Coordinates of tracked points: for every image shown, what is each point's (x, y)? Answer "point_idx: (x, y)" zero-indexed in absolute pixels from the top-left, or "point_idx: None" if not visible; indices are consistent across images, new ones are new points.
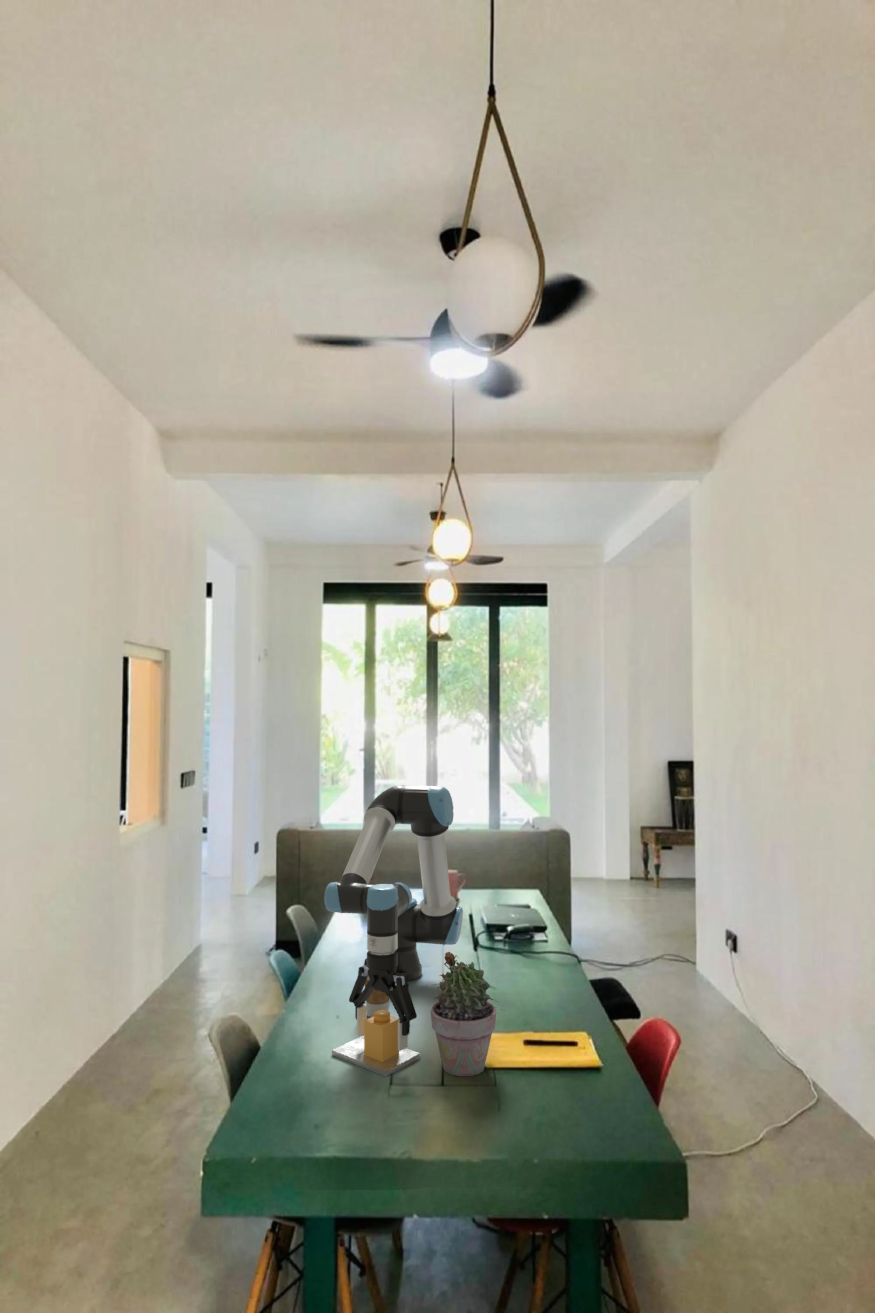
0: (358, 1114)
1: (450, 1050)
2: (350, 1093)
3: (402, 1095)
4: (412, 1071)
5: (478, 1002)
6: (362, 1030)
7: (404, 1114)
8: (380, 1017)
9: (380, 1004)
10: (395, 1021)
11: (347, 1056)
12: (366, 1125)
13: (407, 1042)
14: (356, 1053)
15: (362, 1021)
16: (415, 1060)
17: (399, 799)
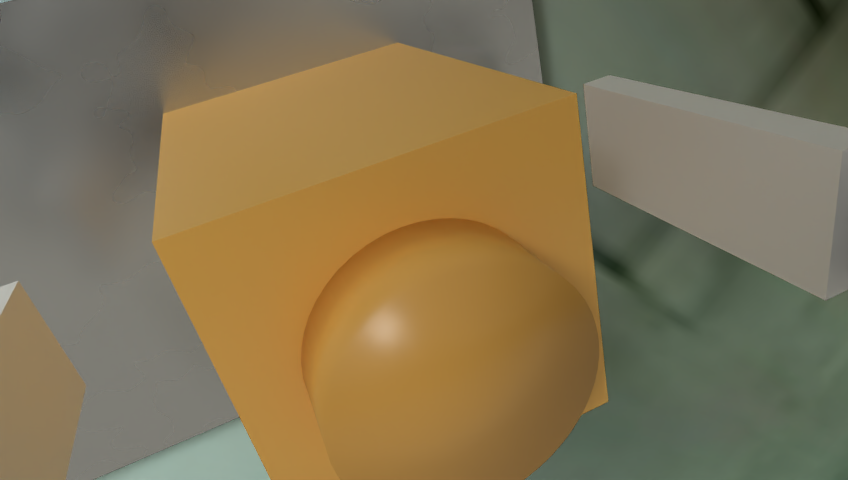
0: (697, 476)
1: None
2: (556, 472)
3: (732, 269)
4: (602, 76)
5: None
6: (47, 366)
7: (820, 325)
8: (547, 441)
9: None
10: (580, 180)
11: (201, 432)
12: (761, 466)
13: (640, 85)
14: (193, 364)
15: (27, 444)
16: None
17: None
